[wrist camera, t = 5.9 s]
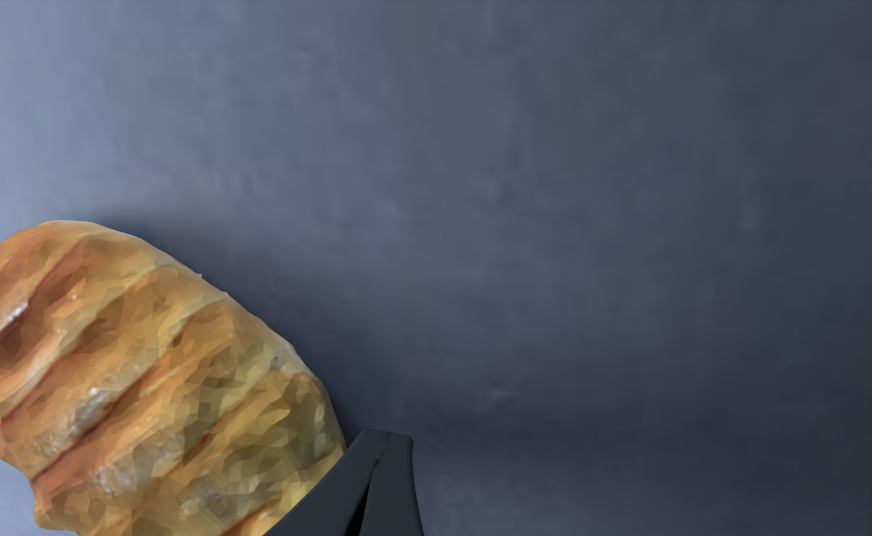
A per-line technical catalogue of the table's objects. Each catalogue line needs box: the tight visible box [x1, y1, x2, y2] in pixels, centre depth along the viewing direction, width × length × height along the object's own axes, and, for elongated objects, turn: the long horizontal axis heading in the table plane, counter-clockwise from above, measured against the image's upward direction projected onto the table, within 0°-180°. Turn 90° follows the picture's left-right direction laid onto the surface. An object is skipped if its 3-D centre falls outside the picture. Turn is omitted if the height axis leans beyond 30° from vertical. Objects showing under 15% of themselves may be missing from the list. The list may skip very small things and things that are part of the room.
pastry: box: [0, 220, 347, 536], centre depth 10 cm, size 9×7×4 cm
